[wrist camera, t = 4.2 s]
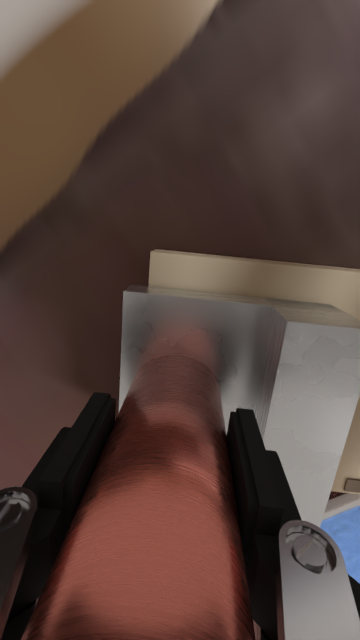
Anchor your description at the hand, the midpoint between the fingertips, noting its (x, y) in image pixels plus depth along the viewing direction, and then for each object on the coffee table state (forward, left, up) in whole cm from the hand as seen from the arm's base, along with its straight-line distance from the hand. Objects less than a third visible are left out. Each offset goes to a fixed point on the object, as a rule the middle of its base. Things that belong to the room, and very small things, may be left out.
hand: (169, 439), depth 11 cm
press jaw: (-2, 0, -4) cm, 5 cm away
